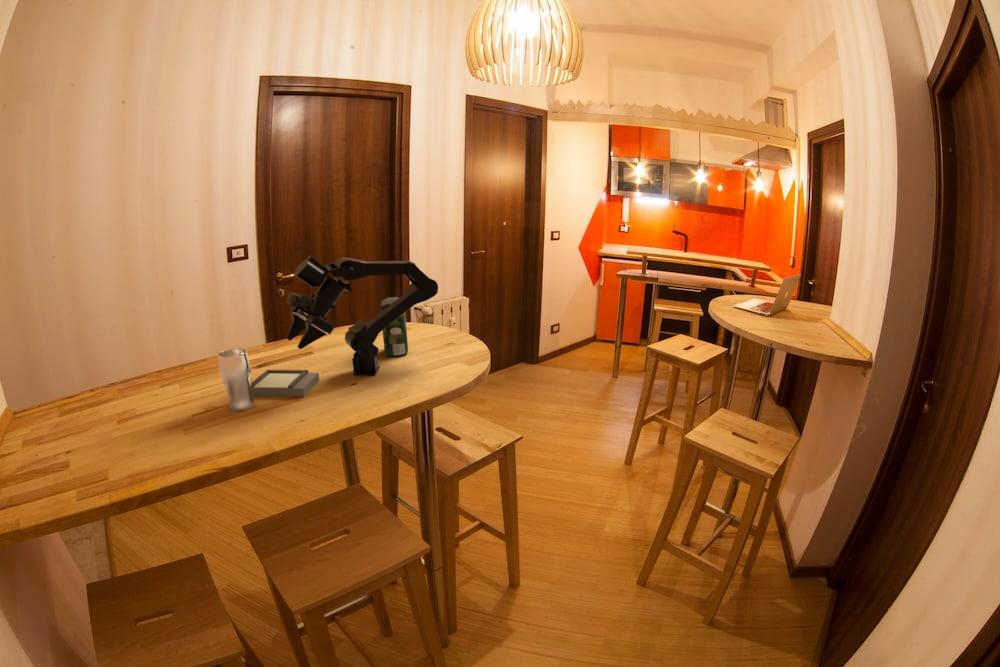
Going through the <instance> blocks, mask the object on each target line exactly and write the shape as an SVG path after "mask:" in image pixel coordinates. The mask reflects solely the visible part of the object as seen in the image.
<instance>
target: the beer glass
mask: <svg viewBox="0 0 1000 667" xmlns="http://www.w3.org/2000/svg"><path fill="white" fill-rule="evenodd" d="M217 359H218V368H219V370H218V371H219V374H220V377H221V380H222V382H223V385H224V387H225V390H226V392H227V395H228V409H229V411H231V412H243V411H247V410H249V409H251V408H253V407H254V406H256V405H255V404H256V402H255V400H254V396H252V394H251V382H252V370H251V363H250V359H249V355H248V350H247V349H246V348H241V347H235V348H229V349H225V350H222V351H219V353H218V354H217Z"/></svg>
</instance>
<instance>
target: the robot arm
mask: <svg viewBox="0 0 1000 667" xmlns="http://www.w3.org/2000/svg"><path fill="white" fill-rule="evenodd" d="M330 275H331V276H332V277H331V276H330ZM390 275H391V276H394V275H395V276H397V275H398V276H399V275H400V276H401V275H404V276H405V277H406V278H407V279H408V281H409V282H410V284H409V285H408V288H407V289H406V291H405V292H404V293H403V294H402V295H401V296H400V297H398V299H397V300H396V301H394V302H393V303H392V304H391V305H389V306H388V307H387V308H385V309H384V310H383V311H381V310H380V312H379V313H378V314H376V315H375V316H374V317H372V319H370V320H368V321H366V322H362V321H361V320H357V321H356V322H355V323H354V324H353V325H352V326H349V327H348V330H347V331H346V332H345V334H344V335H345V336H344V341H345V344H346V345H347V346H349V348H351V349H352V350H353V351H354V353H353V358H352V359H351V361H352V369H353V375H354V376H375V375H376V374H377V373H378V371H379V370H380V368H381V366H380V365H379V362H378V361H379V360H378V355H379V354H378V353H379V350H380V349H379V347H378V346H377V345H375V344H374V343H375V341H376V339H377V338H378V336H379V334H380V333H381V332H383V330H384V329H385V328H386V327H387V326H389V325H390V324H391V323H392V322H394V321H395V320H396V319H398V318H399V317H400V316H401V315H403V314H404V313H405V314H406V312H408V311H409V310H411V308H413V307H414V306H415V305H417V304H421V303H423V302H427V301H429V300H430V299H432V298H433V297H435V296H436V295H437V294H438V292H439V285H438V282H437V281H436V280H435V279H433V278H430V277H429V276H428V275H427V274H425V273H424V272H423V271H422V270H421V269H420V268H419V267H418V266H417V264H416V263H415V262H413V261H410V260H407V259H405V260H380V261H379V260H375V261H374V260H372V261H371V260H361V259H357V258H352V257H347V256H342V257H338V258H337V259H336V260H335V262H332V263H329V264H326V265H325V264H324V265H322V264H321V263H320V262H319V261H317V260H316V258H314V257H312V256H311V255H308V256H307V258H305V259H304V260H303V261H302V262H301V263H299V264H298V265H297V267H296V269H295V270H294V273H293V276H294V277H295V278H297V279H299V280H300V281H302V282H303V283H305V284H307V285H308V286H309V287H311V288H315V287H319V288H318V289H317V290H316V292H315V293H314V292H311V293H310V294H309V295H308V294H307V293H306V294H305V293H294V292H288V295H287V298H286V302H285V304H287V305H288V306H290V308H289V310H291V311H289V312H290V315H291V319H292V320H291V324H290V327H289V330H288V333H287V336H286V339H287V340H288V341H292V340H293V339H295V338H296V337H297V336H298V335H299V334H300V333H302V332H303V331H304V330H305V331H304V332H303V335H302V336H301V339H300V341H299V342H298V345H297V348H298V349H299V350H302V349H304V348H305V347H307V346H309V345H310V344H312V343H314V342H316V341H317V340H319V339H321V338H323V337H324V336H328V335H331V334H332V332H333V331H334V323H332V322H330V321H328V319H327V318H326V316H327V315H328V314H329V312H330V311H331V309H332V310H335V308H336V305H335V303H336V302H337V301H338V299H339V298H340V296H341V295H342V293H343V292H344V291H346V292H348V293H352V292H353V290H352V287H351V282H348V281H354V280H361V279H363V278H366V277H369V276H390ZM333 277H334V278H333ZM340 278H341V279H340ZM342 279H343V280H342ZM345 280H346V282H345Z"/></svg>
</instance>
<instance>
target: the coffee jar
mask: <svg viewBox="0 0 1000 667" xmlns="http://www.w3.org/2000/svg"><path fill="white" fill-rule="evenodd" d="M398 298H399V297H398V296H392V297H389V296H388V297H385V299H383V300H381V301H380V312H381V311H383V310H384V309H385V308H387V307H388V306H389V305H391V304H392V303H393V302H394V301H396V300H397V299H398ZM406 314H407V313H406V312H405V313H404V314H403V315H401V316H400V317H399V318H398V319H396V320H395V321H394V322H392V323H391V324H390V325H389V326H387V327H386V328H385V329H384V330H382V337H383V348H384V354H385V355H386V356H388V357H394V356H396V357H401V356H405V355H407V354H408V352H409V345H408V344H409V342H408V333H407V332H408V331H407V330H408V329H407V317H406Z"/></svg>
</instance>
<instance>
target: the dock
mask: <svg viewBox="0 0 1000 667" xmlns="http://www.w3.org/2000/svg"><path fill="white" fill-rule="evenodd" d="M319 380H320V373H319V372H309V370H308V369H266V370H265V371H264V372H262V373H261V374H260V375H259V376H257V377H256V378H255V379H254V380H253V381H251V394H252V397H270V396H275V398H276V397H278V396H280V398H281V397H282V398H284V397H285V398H288V397H290V398H294V397H293V396H297V397H296V398H304V397H305V395H306V396H307V395H308V394H309V392H311V390H313V388H314V387H315V386H316V385H317V384H318V383H319V382H320V381H319ZM318 381H319V382H318ZM317 382H318V383H317ZM316 383H317V384H316ZM315 384H316V385H315Z"/></svg>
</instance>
